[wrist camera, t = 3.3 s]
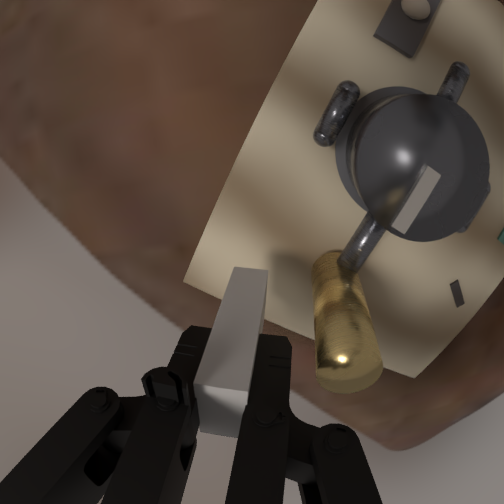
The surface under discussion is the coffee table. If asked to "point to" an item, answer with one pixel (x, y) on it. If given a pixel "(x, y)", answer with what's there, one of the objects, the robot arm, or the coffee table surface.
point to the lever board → (341, 188)
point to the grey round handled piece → (392, 206)
